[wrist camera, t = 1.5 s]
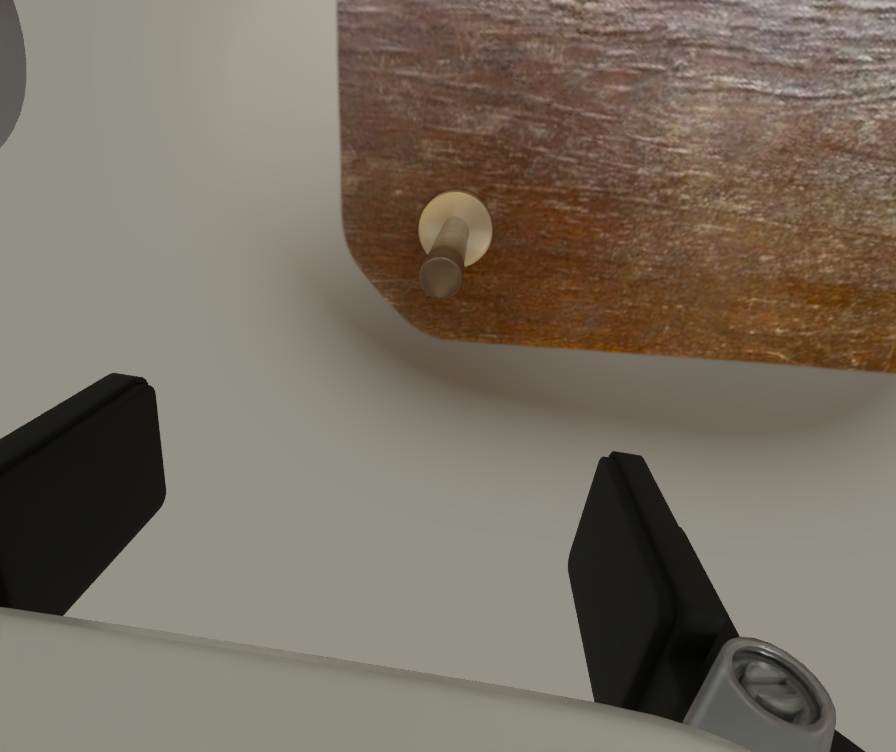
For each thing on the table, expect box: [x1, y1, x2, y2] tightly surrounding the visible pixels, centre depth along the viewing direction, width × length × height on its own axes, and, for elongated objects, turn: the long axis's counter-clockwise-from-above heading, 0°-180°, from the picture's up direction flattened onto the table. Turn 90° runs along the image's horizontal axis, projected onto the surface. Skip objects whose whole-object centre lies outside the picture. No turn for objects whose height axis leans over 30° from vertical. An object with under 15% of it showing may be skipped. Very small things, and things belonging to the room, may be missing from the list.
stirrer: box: [418, 189, 493, 299], centre depth 25 cm, size 4×4×14 cm
